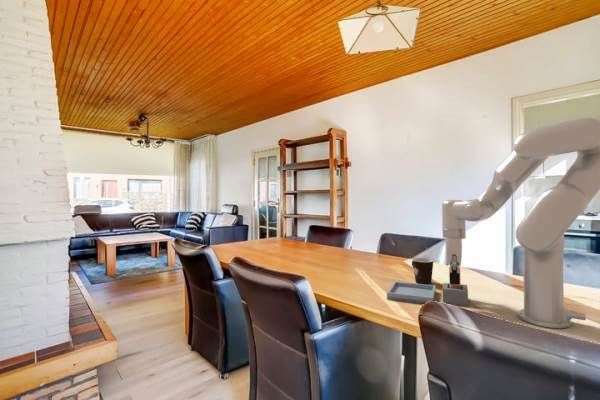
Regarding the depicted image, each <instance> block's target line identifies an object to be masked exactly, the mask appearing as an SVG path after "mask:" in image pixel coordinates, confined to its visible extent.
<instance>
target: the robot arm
mask: <svg viewBox="0 0 600 400" xmlns="http://www.w3.org/2000/svg"><path fill="white" fill-rule="evenodd" d="M512 148H513V149H512V151H511V152H510V153H509V154H508V155H507V157H506V158H505V159H504V160H503V161H502V162H501V163H500V164H499V165H498V167H496V169H495V170H494V172H493V177H492V181H491V183H490V185H489V186H488V187H487V189H485V191H484V192H482V194H481V195H479V197H478V198H475V199H468V200H461V199H448V200H444V201H442V204H441V217H442V222H441V223H442V224H441V225H442V228H441V229H442V238H443V239H445V266H446V267H448V266H449V267H450V272H449V271H448V273H449V275H450V284H458V285H459V284H460V283H461V272H460V273H459V268H461V266H462V255H463V239H466V235H467V234H466V222H467V221H468V222H480V221H484V220H488V219H490V218H491V217H492V216H494V215H495V213H497V212H498V211H499V210H500V209H501V208H502V207H503V206H504V205H505V204H506V203H507V202H508V200H509V199H510V198H511V197H512V196H513V195H514V194H515V192H516V191H517V190H518V189H519V188H520V186H522V184H523V183H524V182H525V181H526V180H527V179H528V178H529V177H530V176H531V175H532V174H533V173H534V172H535V171H536V170H537V169H538V168H539V167H540V166H541V165H542V164H543V163H544V162H545V161H546V160H547V159H548V158H549V157H552V156H559V155H563V154H564V155H565V154H571V153H575V152H576V153H577V157H576V159H575V161H574V162H573V163H572V165H571V166H570V167H569V168H568V169H567V171H566V173H565V174H564V175H563V177H562V178H561V179H560V180H559V182H558V183H557V184H556V185H554V186H552V187H549V188H548V189H546V190H545V191H543V193H541V195H540V196H539V197H538V199H537V200H536V201H535V203H534V204H533V205H532V207H531V208H530V209H529V211H528V212H527V213H526V214H525V216H524V217H523V218H522V220H521V221H520V223H519V224H518V226H517V228H516V230H515V237H516V240H517V242H518V244H519V246H521V247H522V248H523V257H522V258H523V261H522V262H523V270H522V271H523V274H522V275H523V309H520V310H518V311H517V315H518V316H517V317H519V318H520V319H521V320H523V321H525V322H527V323H530V324H531V325H535V326H538V327H545V328H551V329H566V328H569V327H571V326H572V319H574V320H575V319H576V320H581V321H586V319H587V316H586V313H584V312H578V311H577V310H573V309H572V310H571V309H567V308H566V307H565V306H564V305H565V301H564V299H565V298H564V295H565V292H564V291H565V290H564V247H565V233H566V231H567V230H568V229H569V228H570V227H571V226H572V225H573V223H574V222H575V221H576V220H577V219H578V217H579V216H580V215H581V214H583V213H584V212H585V211H586V209H587V207H588V205H589V204H590V203H591V202H592V200H593V198H595V196H596V194H598V192H599V191H600V119H598V118H595V117H594V118H593V117H580V118H575V119H571V120H567V121H562V122H558V123H555V124H550V125H546V126H542V127H538V128H537V127H536V128H533V129H530V130H527V131H524V132H522V133H520V134H519V135H518V136H517V137H516V139H515V140H514V143H513V147H512ZM449 275H448V276H449Z"/></svg>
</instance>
